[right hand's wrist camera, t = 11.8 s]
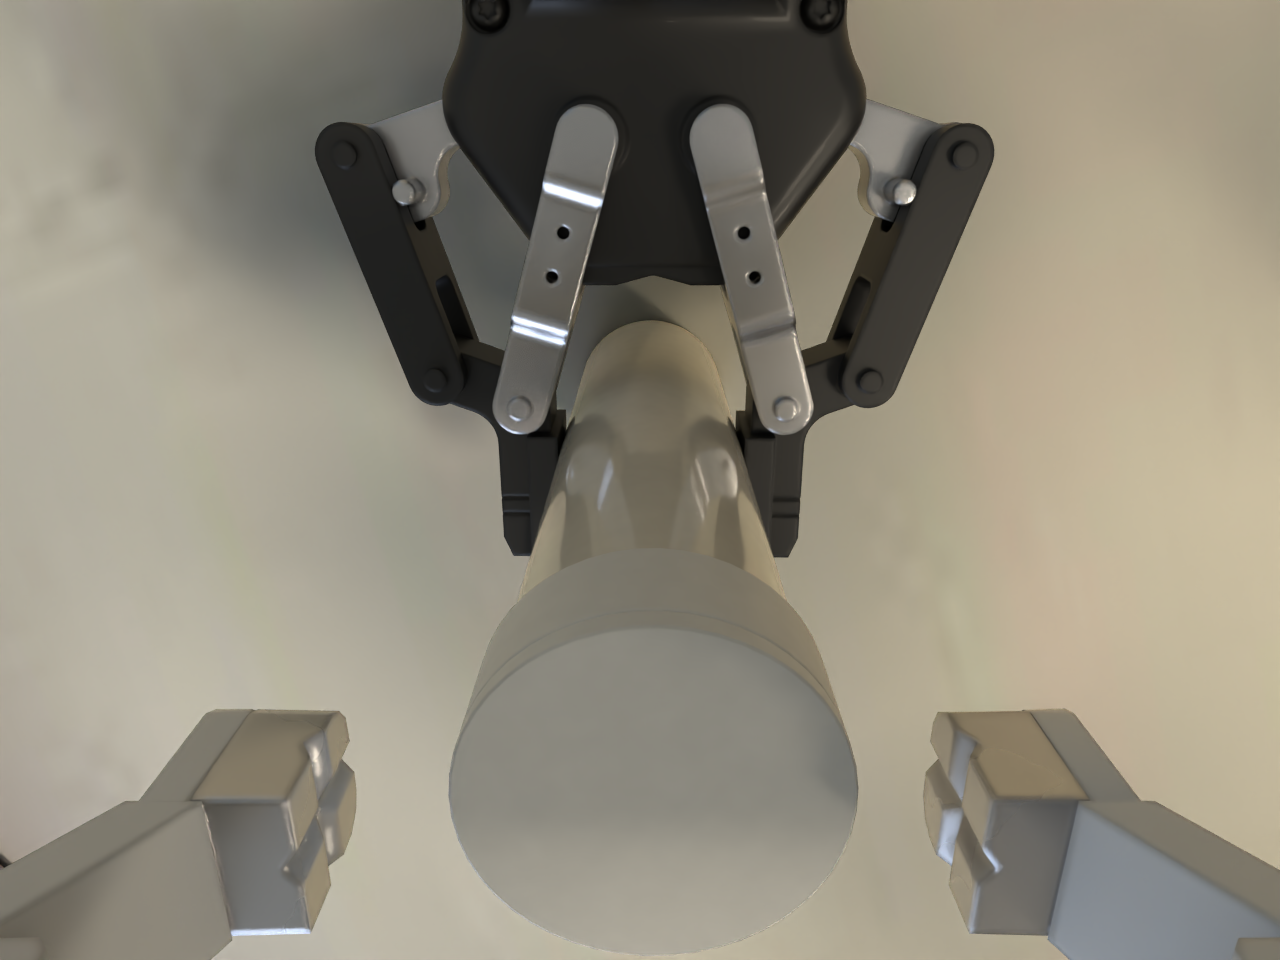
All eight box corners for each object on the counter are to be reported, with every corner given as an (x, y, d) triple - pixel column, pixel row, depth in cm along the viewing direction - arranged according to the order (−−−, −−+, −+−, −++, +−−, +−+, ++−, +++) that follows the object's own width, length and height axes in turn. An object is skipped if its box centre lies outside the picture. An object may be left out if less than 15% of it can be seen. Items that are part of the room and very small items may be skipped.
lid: (430, 772, 12) (392, 881, 10) (559, 489, 11) (540, 559, 9) (729, 881, 13) (743, 1003, 11) (891, 628, 11) (937, 721, 10)
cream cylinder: (560, 420, 27) (423, 846, 11) (615, 296, 26) (556, 565, 9) (682, 473, 28) (732, 956, 11) (742, 355, 27) (900, 705, 10)
